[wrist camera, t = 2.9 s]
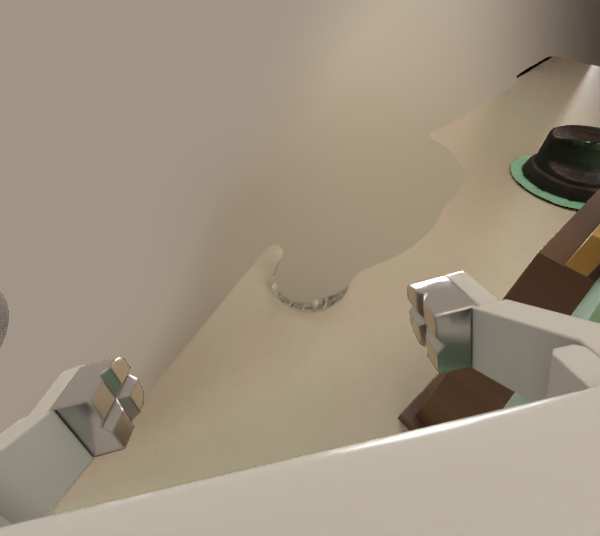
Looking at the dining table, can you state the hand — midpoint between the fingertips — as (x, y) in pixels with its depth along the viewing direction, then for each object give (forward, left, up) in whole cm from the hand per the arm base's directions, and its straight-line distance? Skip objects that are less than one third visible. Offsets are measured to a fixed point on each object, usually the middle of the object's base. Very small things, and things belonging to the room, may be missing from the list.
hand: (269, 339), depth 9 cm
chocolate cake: (+32, +66, -27) cm, 78 cm away
